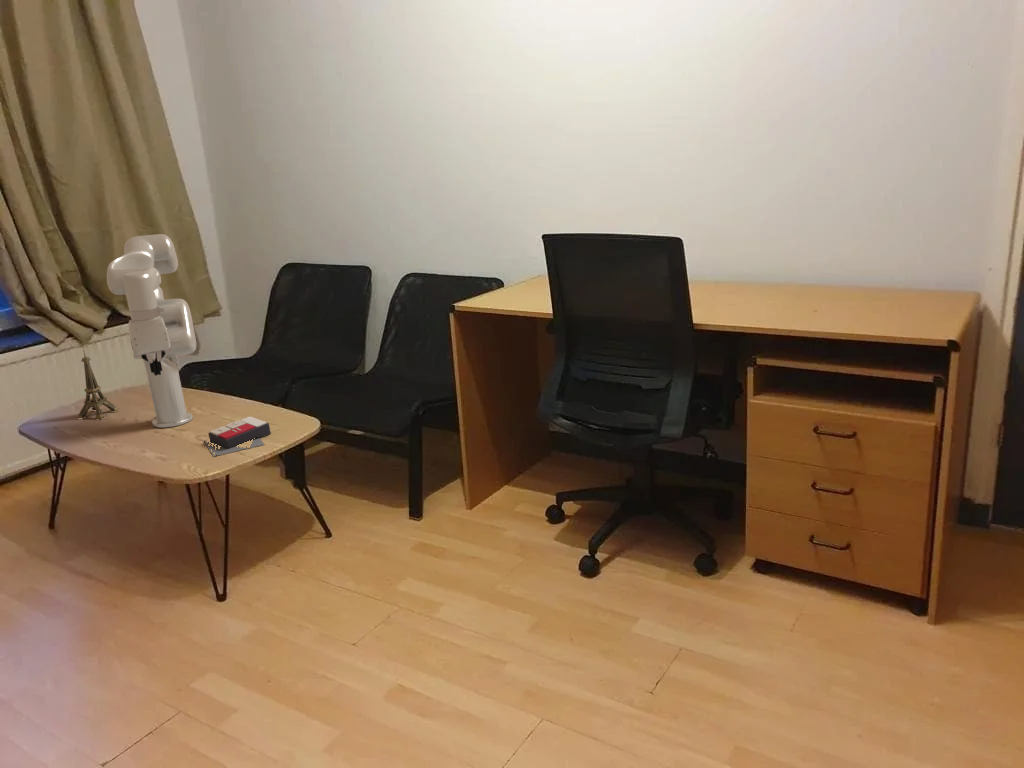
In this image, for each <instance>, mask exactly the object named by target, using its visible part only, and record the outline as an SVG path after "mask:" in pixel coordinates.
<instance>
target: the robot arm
mask: <svg viewBox="0 0 1024 768" xmlns="http://www.w3.org/2000/svg"><path fill="white" fill-rule="evenodd" d="M178 267H179V260H178V256H177V252H176V249H175V244H174V242H173V241H172V239H171V238H170V237H169V236H168V235H166V234H164V233H158V234H145V235H137V236H133V237H130V238H129V239H127V240H126V242H125V243H124V248H123V254H122V255H120V256H119V257H117V258H115V259H113V260H112V261H110V263H109V264H108V266H107V269H106V270H107V271H106V283H107V287H108V289H109V291H110V292H111V293H112V294H113V295H116V296H123V295H125V296H126V300H127V306H128V310H129V315H130V318H131V319H130V320H129V321H128V332H129V339H130V345H131V349H132V352H133V354H132V356H133V359H134V360H138V359H139V360H142V361H143V363H144V368H145V372H146V375H147V376H146V377H147V380H148V381H147V382H148V386H149V389H150V390H149V391H150V395H151V399H152V404H153V409H154V414H155V417H154V418H153V420H151V424H152V426H153V427H155V428H160V429H161V428H163V429H164V428H174V427H176V426H177V427H178V426H181V425H184V424H187V423H188V422H191V420H193V414H192V412H190V411H189V412H188V411H187V409H186V404H185V397H184V393H183V387H182V384H181V383H182V382H181V379H180V378H181V377H180V373H179V370H178V369H179V368H178V366H176V364H175V363H173V362H172V361H171V360H170V359H168V358H172V357H178V356H186V355H191V354H193V353H195V351H196V349H197V340H196V334H195V333H196V332H195V328H194V321H193V317H192V312H191V310H190V309H191V308H190V306H189V304H188V302H187V301H186V300H185V299H182V298H169V299H165V297H164V291H163V289H162V288H161V286H160V285H161V283H162V277H161V275H167V274H172V273H176V271H177V270H178Z"/></svg>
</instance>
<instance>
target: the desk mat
mask: <svg viewBox="0 0 1024 768" xmlns="http://www.w3.org/2000/svg"><path fill="white" fill-rule="evenodd" d="M205 440H206V441H207V440H208V439H205ZM205 440H203V442H204V441H205ZM250 441H251V440H250ZM206 443H207V442H204V444H205V445H206V447H207V449H208V448H209V449H208V450H209V452H210V451H211V449H212V452H210V454H211V453H212V454H211V455H212V457H213V458H215V457H218V455H220V456H223V455H222V454H224V455H227V453H228V454H232V453H236V452H240V451H239V450H241V451H244V450H243V449H245V450H248V448H247V446H246V448H243V447H242V448H240V447H239V446H238V448H237V447H236V446H235V447H232V448H230V449H226V448H224V447H220V449H218V445H216V447H217V448H216V450H215V446H214V445H215V444H214V445H213V447H212V446H211V445H212V444H211V443H212V442H211V443H210V444H211V445H210V446H208V444H209V442H208V443H207V444H206ZM261 446H265V443H264V442H263V441H262V439H261V438H260V437H257V438H255V439H253V442H252V444H251V446H250V448H249V449H253V448H256V447H261ZM252 447H253V448H252ZM214 452H215V455H214V454H213V453H214ZM216 455H217V456H216ZM214 456H215V457H214Z"/></svg>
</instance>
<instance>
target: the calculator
mask: <svg viewBox="0 0 1024 768" xmlns="http://www.w3.org/2000/svg"><path fill="white" fill-rule="evenodd" d="M207 434H208V437H209V438H208V439H210V442H212V443H214V444H217V445H219V446H221V447H224V448H226V449H230V448H232V447H235V446H237V445H239V444H242V443H244V442H247V441H249V440H252V439H254V438H257V437H259V438H260V439H261V438H263V437H266V436H268V435H271V434H272V432H271V428H270V423H269V422H266V421H264V420H261V419H258V418H256V417H253V416H247V417H244V418H242V419H240V420H235V421H233V422H230V423H227V424H226V425H225V426H224V425H223V426H220V427H217V428H215V429H213V430H210V431H209V432H208V433H207Z"/></svg>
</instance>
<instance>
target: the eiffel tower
mask: <svg viewBox="0 0 1024 768" xmlns="http://www.w3.org/2000/svg"><path fill="white" fill-rule="evenodd" d="M82 349H83V351H82V352H83V357H82V358H81V362H83V366H84V367H83V369H84V376H85V377H84V378H85V379H84V380H85V388H84V390H83V391H84V392H85V398H84V399H85V400H84V401H83V406H82V408H81V409H80V412H78V415H77V417H76V418H84V417H86V416H87V413H88V412H89V410H90V409H91V408H92V409H91V411H92V410H96V412H95V419H102V418H104V417H105V416H106V415H105V414H104V412H103V411H102V410H101V409H100V408H101V406H105V407H106V408H107V409H109V412H110V411H117V410H118V409H119V407H118V406H117V405H115V404H114V403H112V402H111V401H110V400H108V399H107V398H108V397H107V396H105V395H104V394H103V392H102V391H101V388H102V386H101V385H99V384H98V381H97V380H96V377H95V375H94V372H93V369H92V366H91V364H90V361H91V358H90V356H87V355H86V353H85V349H84V348H82ZM97 394H98V396H97ZM95 419H94V420H95Z"/></svg>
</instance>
